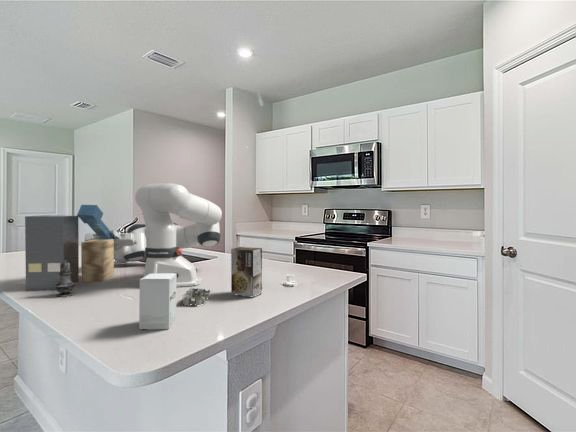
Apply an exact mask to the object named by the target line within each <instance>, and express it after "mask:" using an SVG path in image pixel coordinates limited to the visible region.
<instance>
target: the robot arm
mask: <svg viewBox="0 0 576 432" xmlns="http://www.w3.org/2000/svg"><path fill="white" fill-rule="evenodd" d="M134 197H135V202H136V204H137V206H138V207H139V208H140V210H141V214H142V216H143V221H144V224H143V223H135V224H132V225H131V226H129V227H128V228H127V230H126V232H125V233H123V232H117V231H116V230H110V231H111V235H112V236H115V239H114V262H117V263H121V264H126V263H128V262H129V263H130V262H132V263H133V262H134V263H135V262H141V261H143V260H144V261H145V266H144V273H143V277H145V276H147V275H148V274H158V273H176V288H179V287H181V286H182V287H190V286H191V287H194V285H195V286H197V285H200V284H202V281H203V278H202V276H200V275H197V270H196V267H195V264H193V263H192V262H190V261H189V260H188V259H186V258H185V257H184V256H183V252H182V251H183V250H184V249H190V248H193V247H197V246H199V245H200V246H203V247H206V248H208V247H214V246H217V245H218V244H219V243H220V242H221V231H220V230H221V229H220V227H221V226H220V221H221V220H222V216H223V211H222V209H221V207H219V206H218V205H217V204H215V202H214V203H213V202H212V201H210V200H208V199H206V198H203V197H202V196H198V195H195V194H193V193H191V192H189V191H188V188H186V187H185V186H183V185H181V184H177V183H172V182H170V183H167V182H166V183H164V182H163V183H147V184H146V185H143V186H141V187H140V188H138V189H137V190H136V192H135V195H134ZM170 214H173V215H176V216H178V217H179V218H180V219H182V220H187V221H189V222H193V223H192V224H188V225H187V224H186V225H178V223H175V222H173V221H172V218H171V216H170ZM93 239H100V238H99V236H98V235H97V234H96V233H95V232H94V233H91V232H90V233H89V232H88V233H85V235H84V242H85V241H89V240H93ZM182 249H183V250H182Z"/></svg>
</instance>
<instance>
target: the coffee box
mask: <svg viewBox="0 0 576 432" xmlns="http://www.w3.org/2000/svg"><path fill="white" fill-rule="evenodd" d="M230 250H231V251H230V263H231V265H230V268H231V270H230V272H231V274H230V275H231V279H230V280H231V281H230V282H231V284H230V285H231V287H230V288H231V290H230V291H231V294H237V295H236V296H238V295H244V296H243V297H245V296H255V295H257V294H259V293H261V292H262V291H263V284H262V283H263V282H262V281H263V279H262V278H263V277H262V276H263V248H262V247H252V246H250V247H248V246H239V247H235V248H230ZM262 293H263V292H262ZM231 294H230V295H231Z"/></svg>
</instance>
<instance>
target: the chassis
mask: <svg viewBox="0 0 576 432" xmlns="http://www.w3.org/2000/svg"><path fill="white" fill-rule="evenodd" d="M24 227H25V228H24V231H25V232H24V235H25V241H24V242H25V244H24V245H25V246H24V247H25V250H24V251H25V291H28V292H29V291H54V290H55V291H57V290H56V287H55V285H56V284H58V283H59V281H60V275H59V273H60V264H61V263H63V262H64V260H66V262H68V263H70V272H72V273H71V281H72V282H73V283H76V284H77V283H79V282H80V279H79V277H80V273H79V271H80V269H79V267H80V266H79V265H80V264H79V258H80V257H79V255H80V254H79V217H78V216H77V215H52V214H51V215H29V216H28V215H27V216H24Z"/></svg>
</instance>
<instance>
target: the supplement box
mask: <svg viewBox="0 0 576 432" xmlns="http://www.w3.org/2000/svg"><path fill="white" fill-rule="evenodd" d="M138 309H139V313H138V315H139V317H138V318H139V320H138V322H139V323H138V324H139V327H138V328H139V330H142V329H147V330H169V329H170V328H171V327H172V325H173V323H174V322H175V321H176V320H177V287H176V273H158V274H148V275H147V276H145V277H144V276H142V278H140V279H139V308H138Z"/></svg>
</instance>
